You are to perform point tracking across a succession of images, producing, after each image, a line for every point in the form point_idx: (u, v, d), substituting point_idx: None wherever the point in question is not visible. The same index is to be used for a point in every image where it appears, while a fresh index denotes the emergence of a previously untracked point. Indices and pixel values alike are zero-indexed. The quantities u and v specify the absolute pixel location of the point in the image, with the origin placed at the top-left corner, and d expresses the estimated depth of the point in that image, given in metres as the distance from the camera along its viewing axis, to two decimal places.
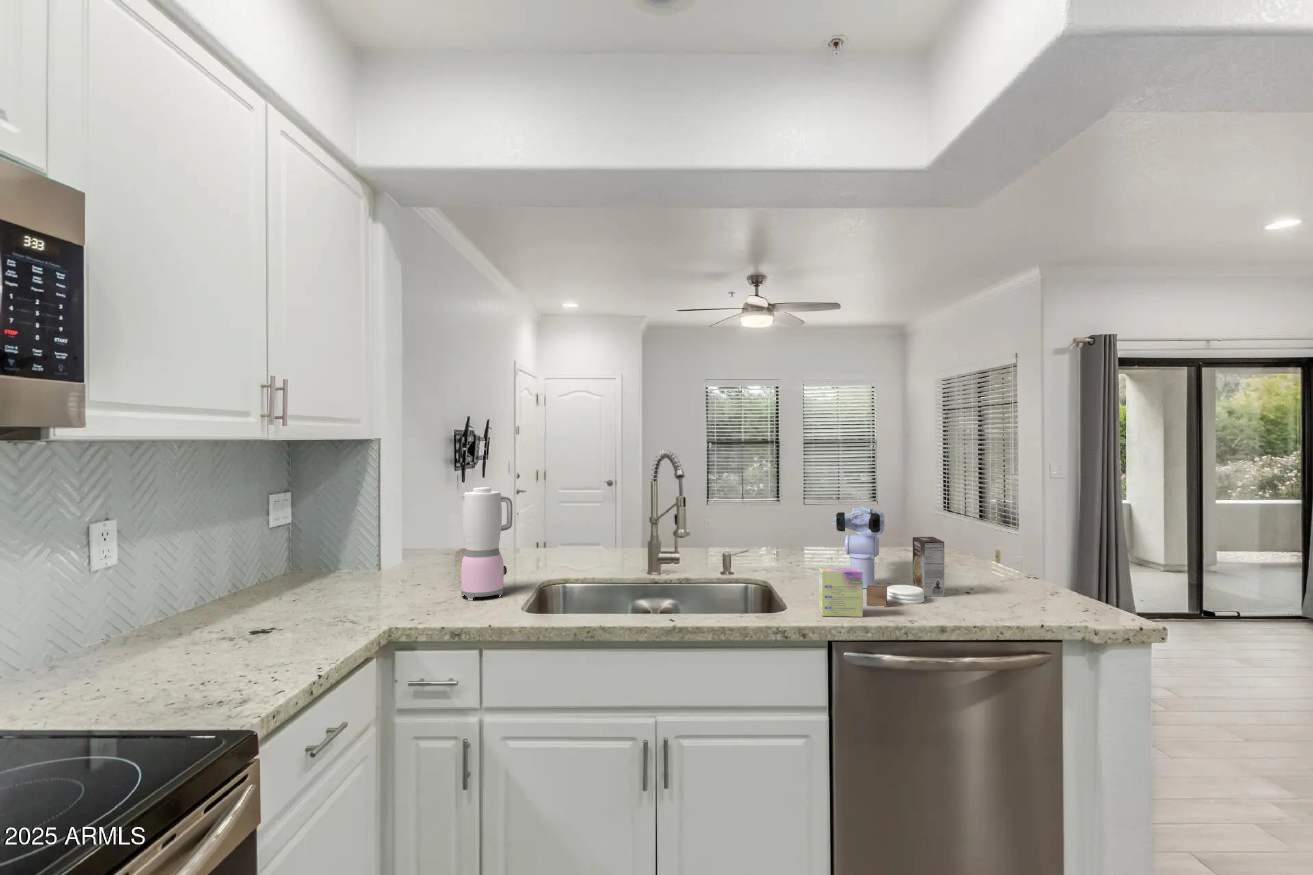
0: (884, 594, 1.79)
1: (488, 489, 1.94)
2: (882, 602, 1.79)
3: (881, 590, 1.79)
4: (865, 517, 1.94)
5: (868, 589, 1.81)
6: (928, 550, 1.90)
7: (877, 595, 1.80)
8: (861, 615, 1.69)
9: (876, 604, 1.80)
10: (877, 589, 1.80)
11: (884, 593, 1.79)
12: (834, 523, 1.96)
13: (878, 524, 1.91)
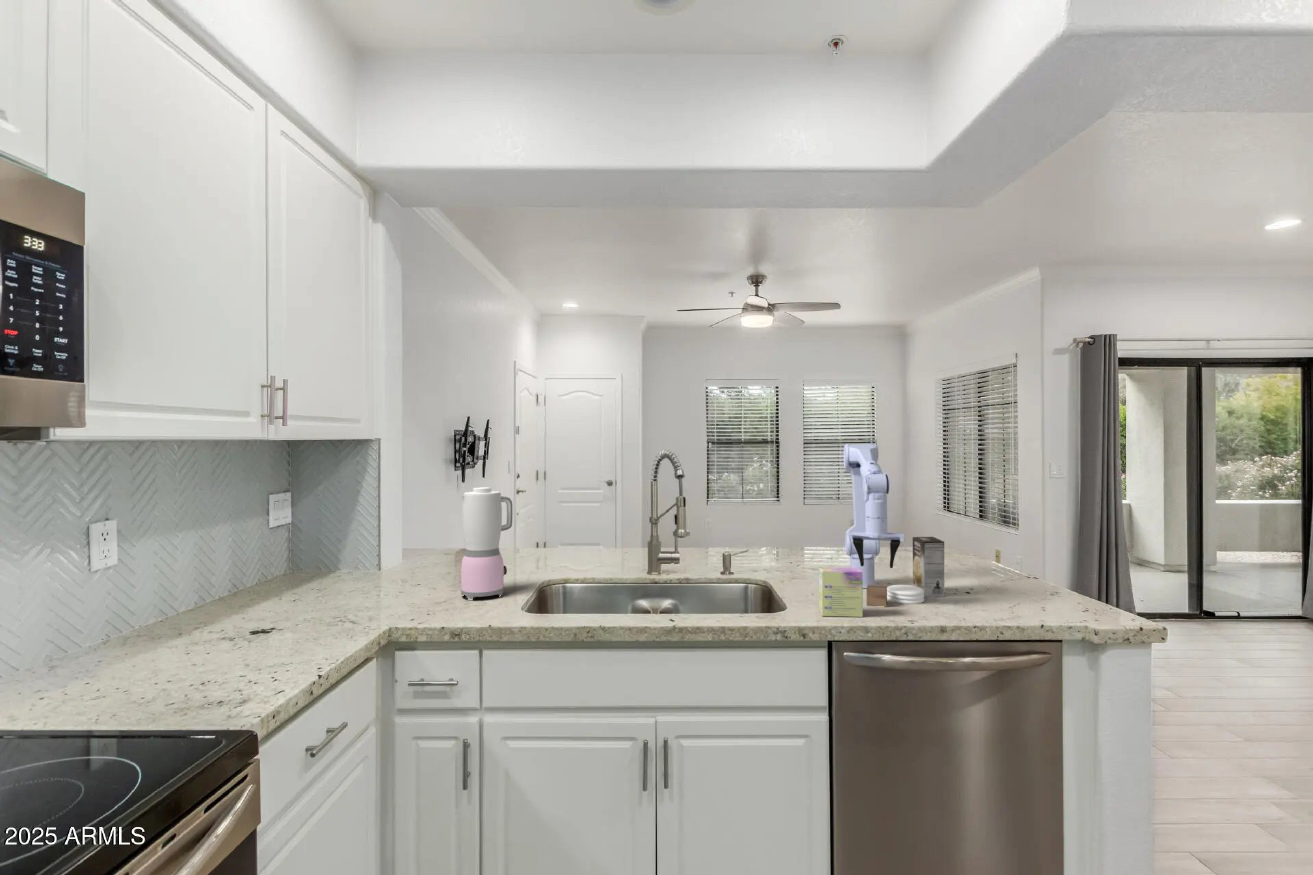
0: (884, 594, 1.79)
1: (488, 489, 1.94)
2: (882, 602, 1.79)
3: (881, 590, 1.79)
4: None
5: (868, 589, 1.81)
6: (928, 550, 1.90)
7: (877, 595, 1.80)
8: (861, 615, 1.69)
9: (876, 604, 1.80)
10: (877, 589, 1.80)
11: (884, 593, 1.79)
12: None
13: None
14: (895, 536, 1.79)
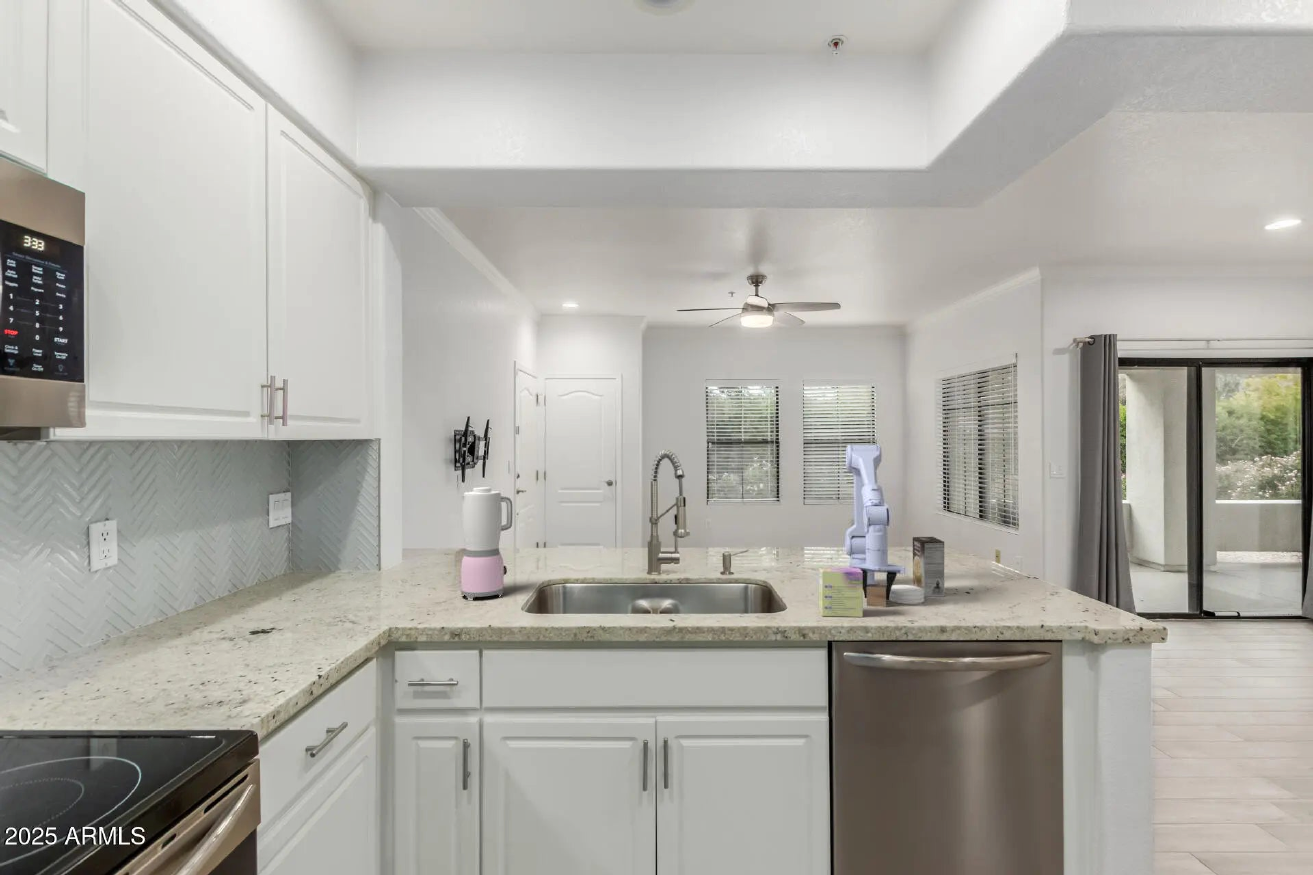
0: (884, 594, 1.79)
1: (488, 489, 1.94)
2: (882, 602, 1.79)
3: (881, 590, 1.79)
4: None
5: (868, 589, 1.81)
6: (928, 550, 1.90)
7: (877, 594, 1.80)
8: (861, 615, 1.69)
9: (876, 604, 1.80)
10: (877, 589, 1.80)
11: (884, 593, 1.79)
12: None
13: None
14: (895, 568, 1.79)
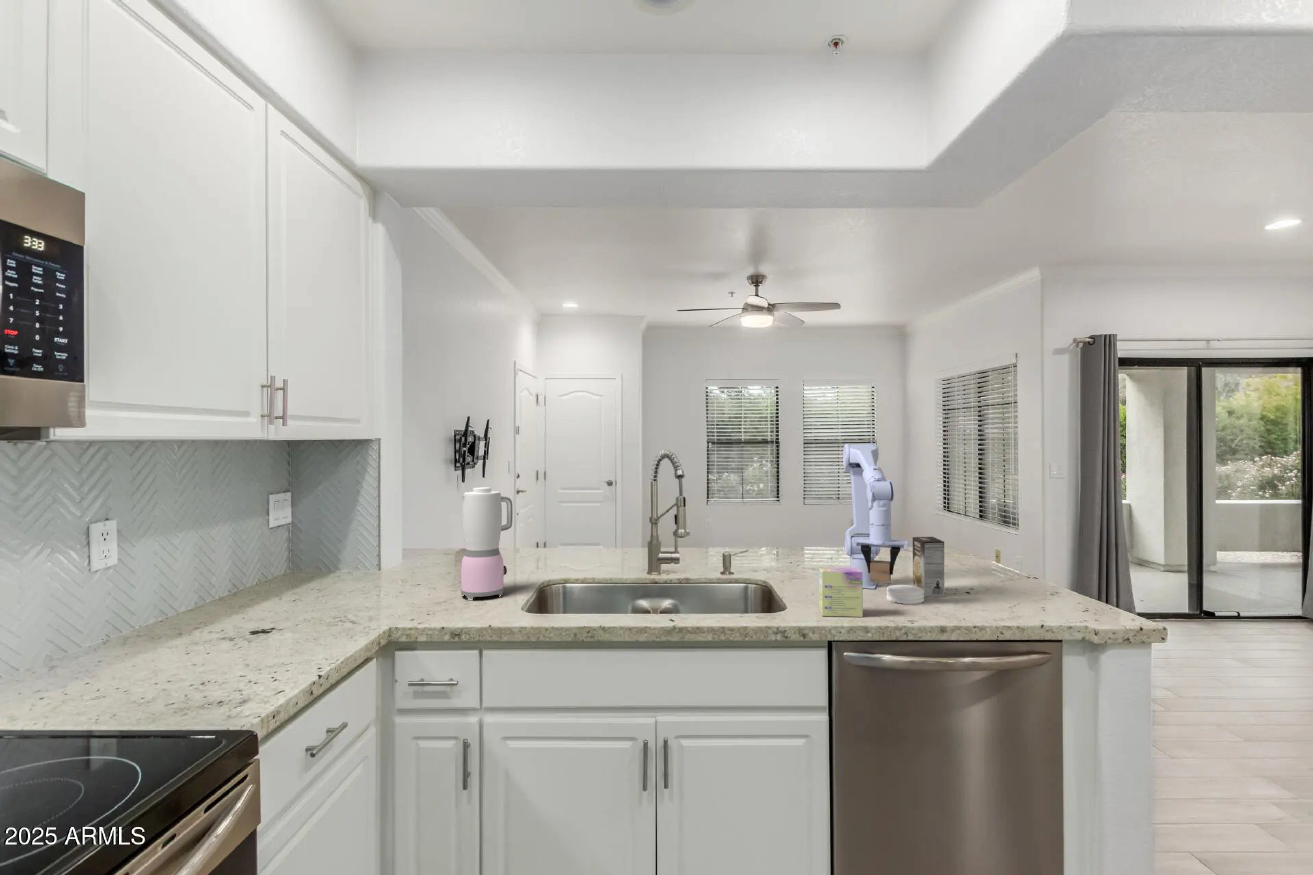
0: (888, 569, 1.80)
1: (488, 489, 1.94)
2: (885, 578, 1.80)
3: (885, 565, 1.80)
4: None
5: (872, 565, 1.81)
6: (928, 550, 1.90)
7: (880, 570, 1.80)
8: (861, 615, 1.69)
9: (879, 579, 1.80)
10: (881, 564, 1.80)
11: (888, 568, 1.80)
12: None
13: None
14: (899, 543, 1.80)
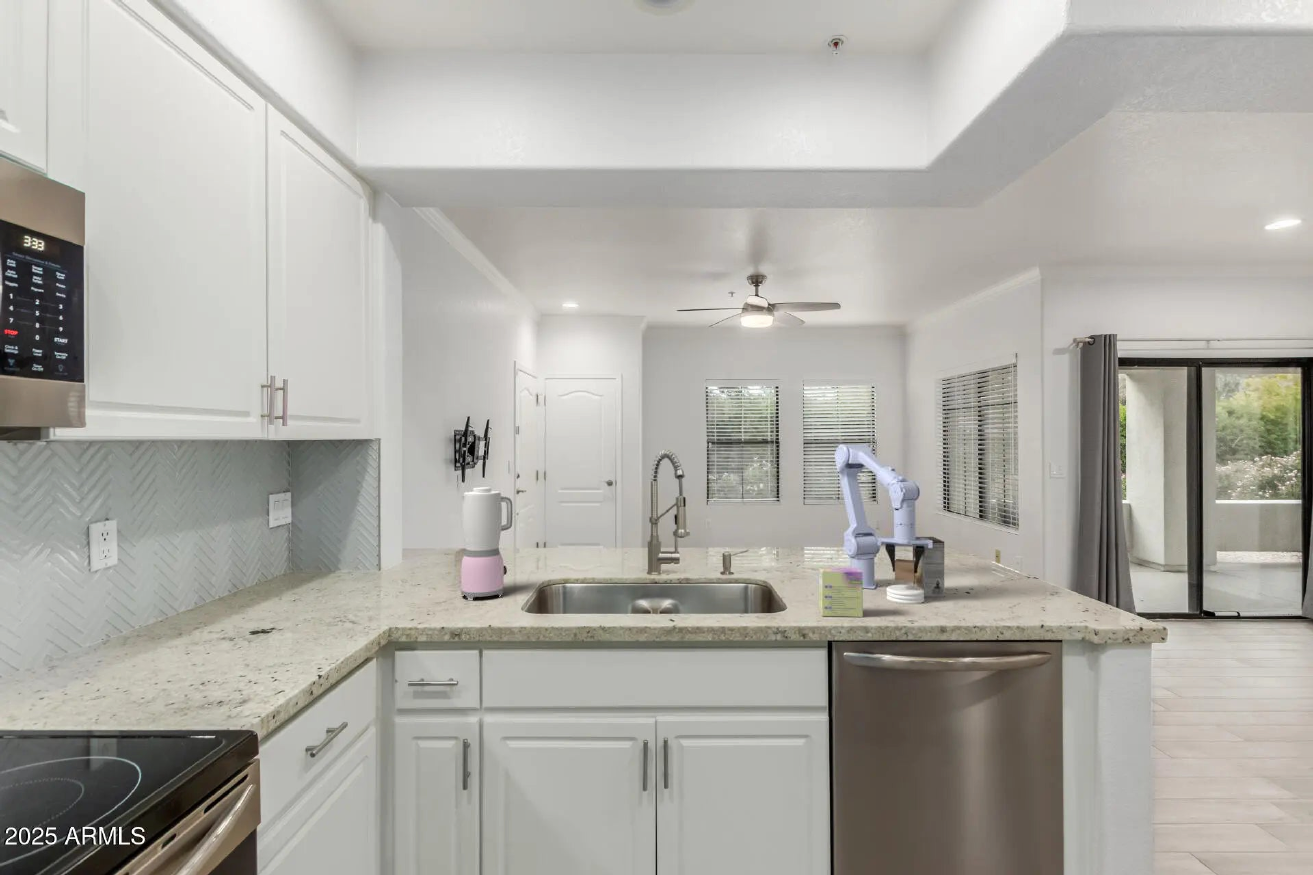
0: (912, 568, 1.83)
1: (488, 489, 1.94)
2: (910, 576, 1.84)
3: (909, 564, 1.84)
4: None
5: (896, 563, 1.85)
6: (928, 550, 1.90)
7: (905, 569, 1.84)
8: (861, 615, 1.69)
9: (904, 578, 1.84)
10: (905, 563, 1.84)
11: (912, 567, 1.83)
12: None
13: None
14: (923, 542, 1.84)
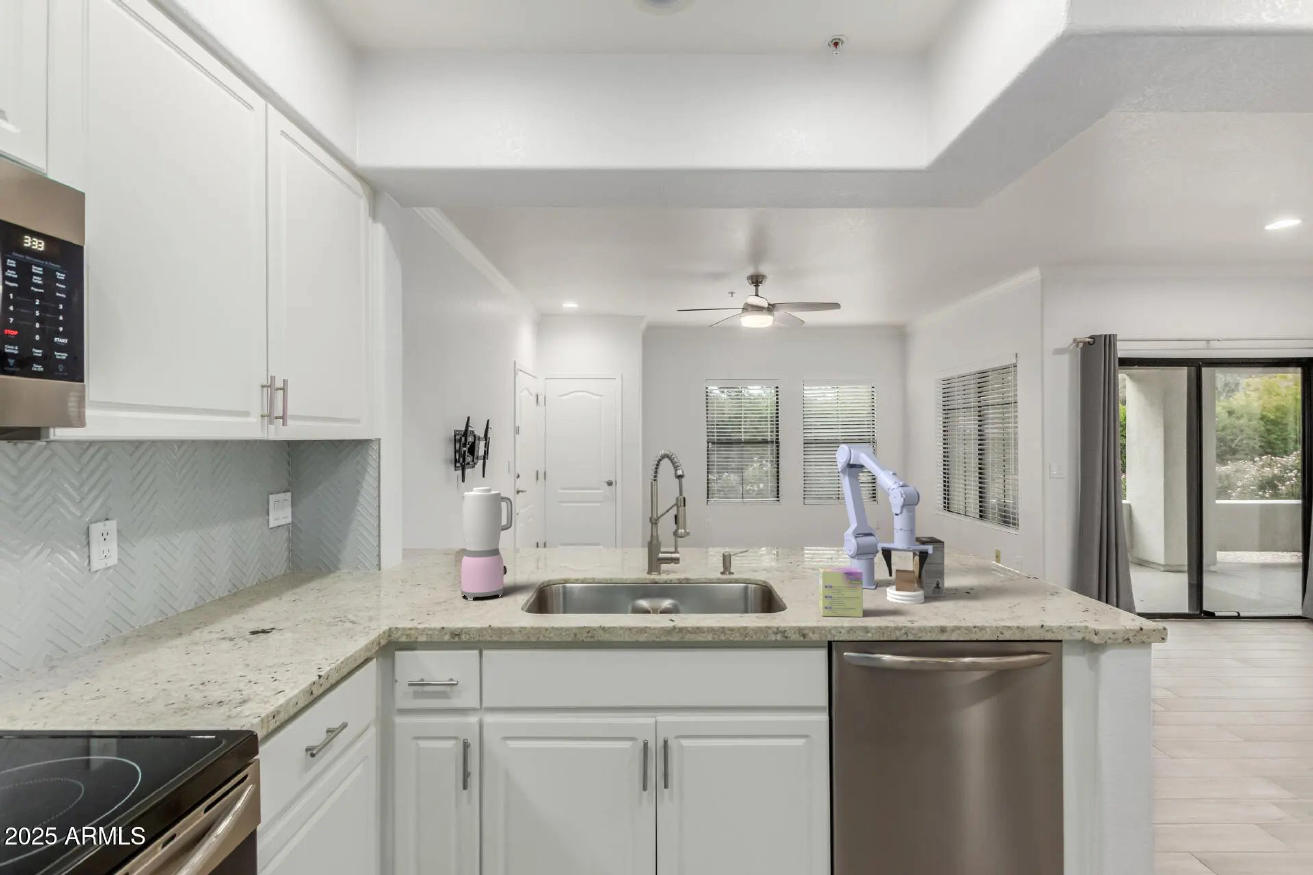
0: (913, 579, 1.83)
1: (488, 489, 1.94)
2: (910, 587, 1.84)
3: (910, 575, 1.84)
4: (912, 548, 1.85)
5: (897, 574, 1.85)
6: None
7: (906, 580, 1.84)
8: (861, 615, 1.69)
9: (905, 588, 1.84)
10: (906, 574, 1.84)
11: (913, 578, 1.83)
12: None
13: None
14: (923, 548, 1.84)
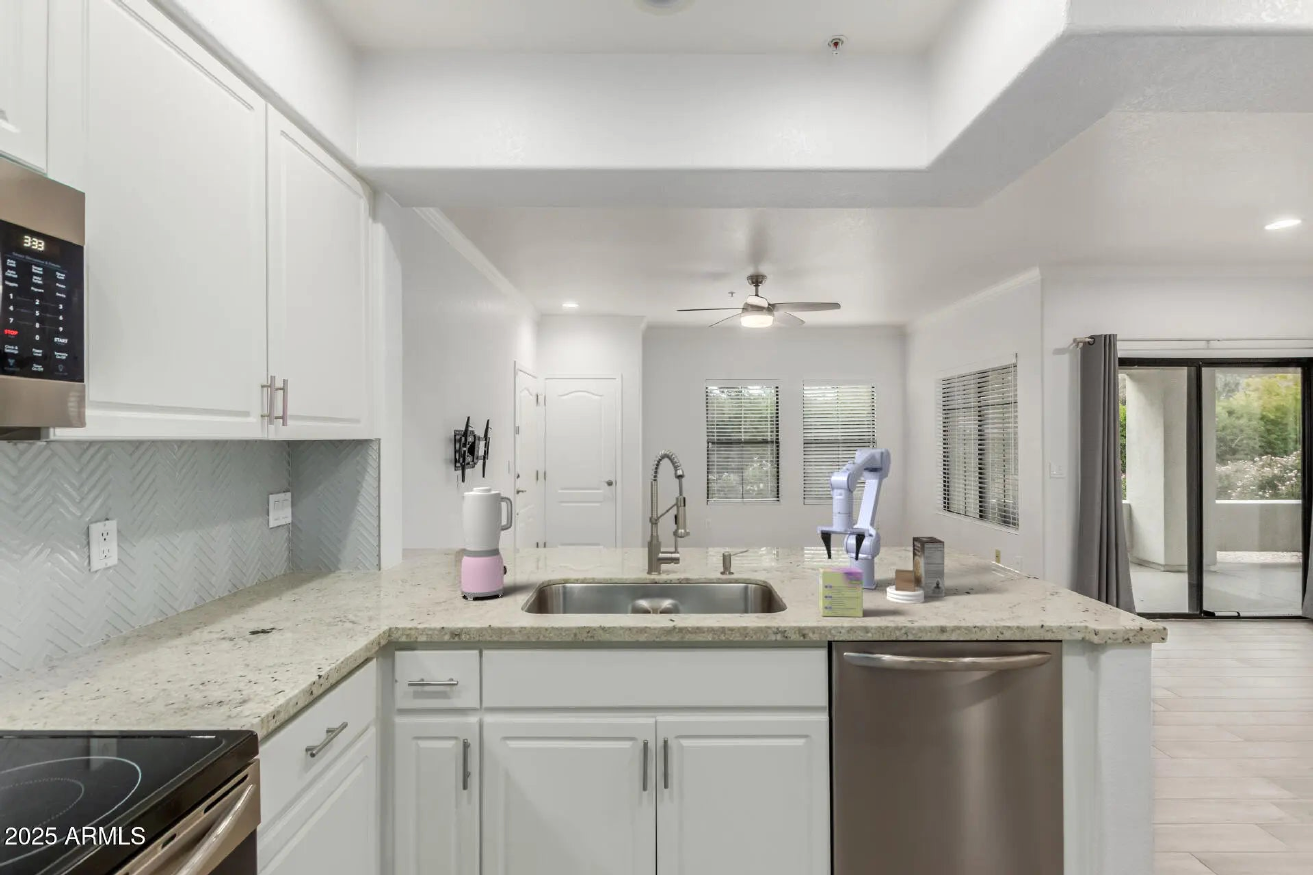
0: (912, 578, 1.84)
1: (488, 489, 1.94)
2: (910, 587, 1.84)
3: (909, 574, 1.84)
4: None
5: (896, 574, 1.85)
6: (928, 550, 1.90)
7: (905, 579, 1.84)
8: (861, 615, 1.69)
9: (904, 588, 1.85)
10: (905, 574, 1.85)
11: (912, 577, 1.84)
12: None
13: None
14: (860, 530, 1.90)
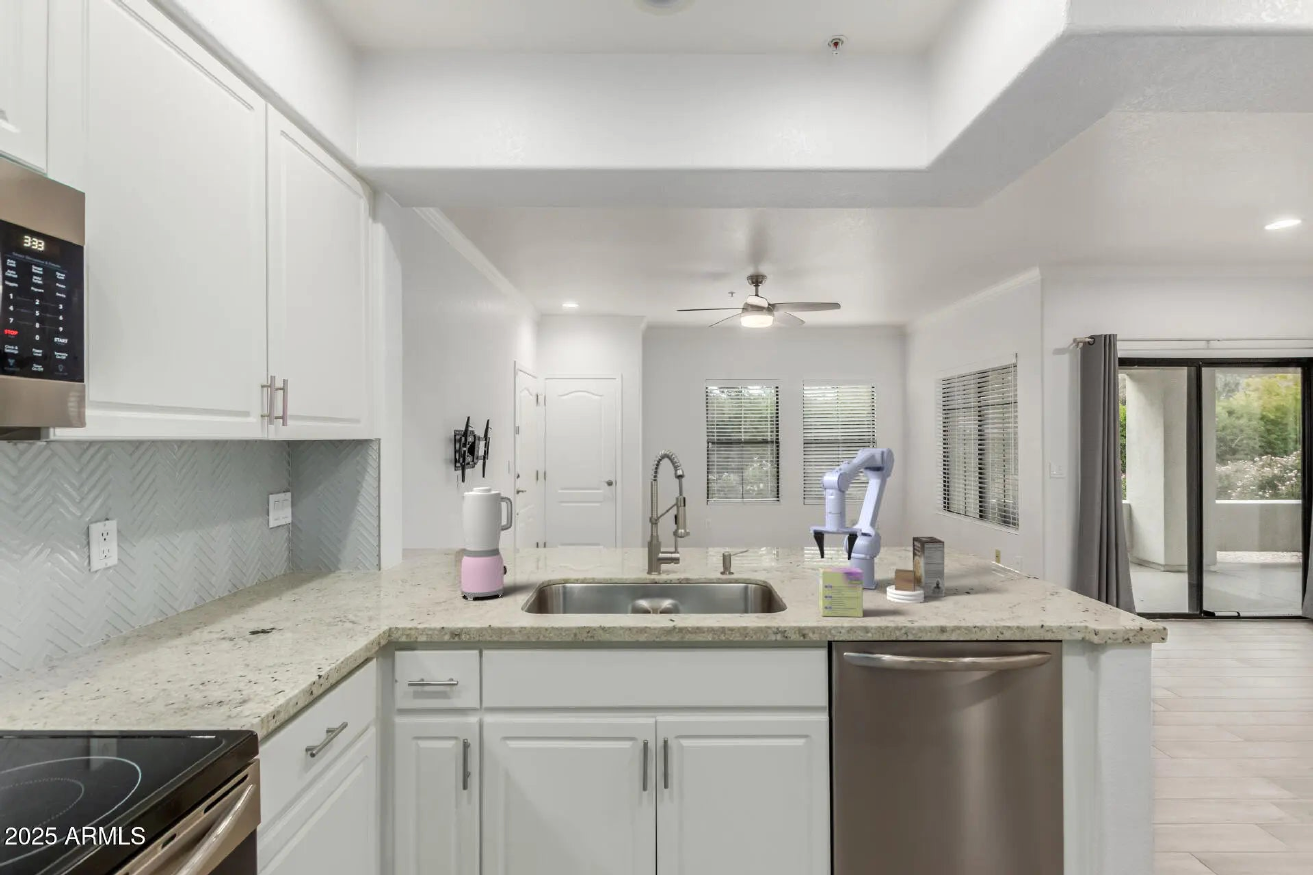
0: (912, 578, 1.84)
1: (488, 489, 1.94)
2: (910, 586, 1.84)
3: (909, 574, 1.84)
4: None
5: (896, 573, 1.86)
6: (928, 550, 1.90)
7: (905, 579, 1.85)
8: (861, 615, 1.69)
9: (904, 588, 1.85)
10: (905, 573, 1.85)
11: (912, 577, 1.84)
12: None
13: None
14: (852, 530, 1.91)
